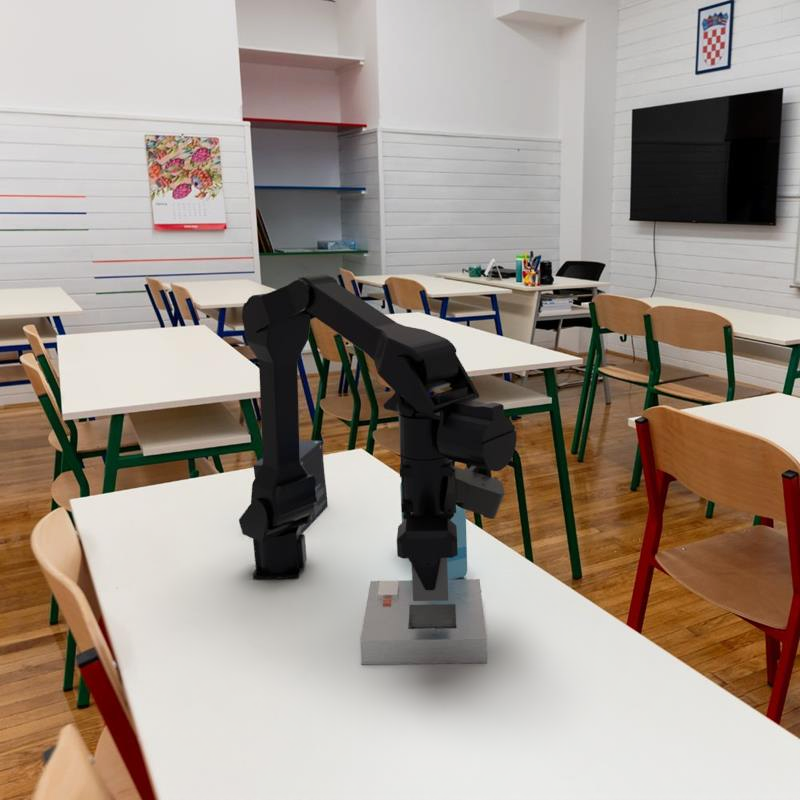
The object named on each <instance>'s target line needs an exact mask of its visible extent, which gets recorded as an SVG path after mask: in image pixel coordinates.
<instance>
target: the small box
mask: <svg viewBox="0 0 800 800" xmlns="http://www.w3.org/2000/svg"><path fill="white" fill-rule="evenodd" d="M299 446H300V463H301V465H302V466H303V467H304V469H305V470H306V472H307V473H308V474H309V475H312V476H314V477H315V479H316V486H315V494H316V498H317V502H316V503H314V508H313V511H312V512H311V517H310V522H309V523H308V524H304V525H301V526H300V530H301V534H304V532H305V531H306V530H307V529H308V527H309V526H310V525H311V524H312V523H313V522H314V521H315V520H316V519H317V518H318V516H320V515H321V513H322V512H323V511H324V510H325V509H326V508H327V507H328V503H329V502H328V493H327V483H326V475H325V474H326V473H325V463H324V451H323V449H324V448H323V441H322V440H308V439H307V440H305V439H304V440H303V439H299ZM262 464H263V457H262V458H260V459H259V460H258V461H256V462H255V463H254V464H253V465H252V466H253V472H254V473H253V474H254V478H255V477H256V476H257V474H258V472H259V470H260V468H261V466H262Z"/></svg>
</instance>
